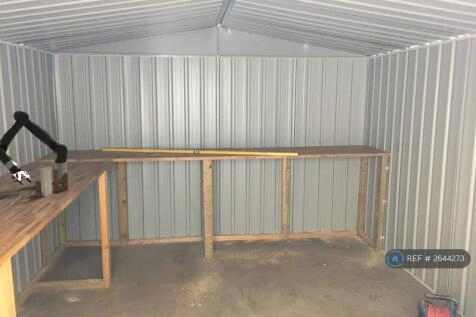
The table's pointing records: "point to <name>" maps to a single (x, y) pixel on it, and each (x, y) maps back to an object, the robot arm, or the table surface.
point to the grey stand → (45, 183)
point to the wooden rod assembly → (63, 179)
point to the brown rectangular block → (38, 186)
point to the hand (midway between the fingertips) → (26, 183)
